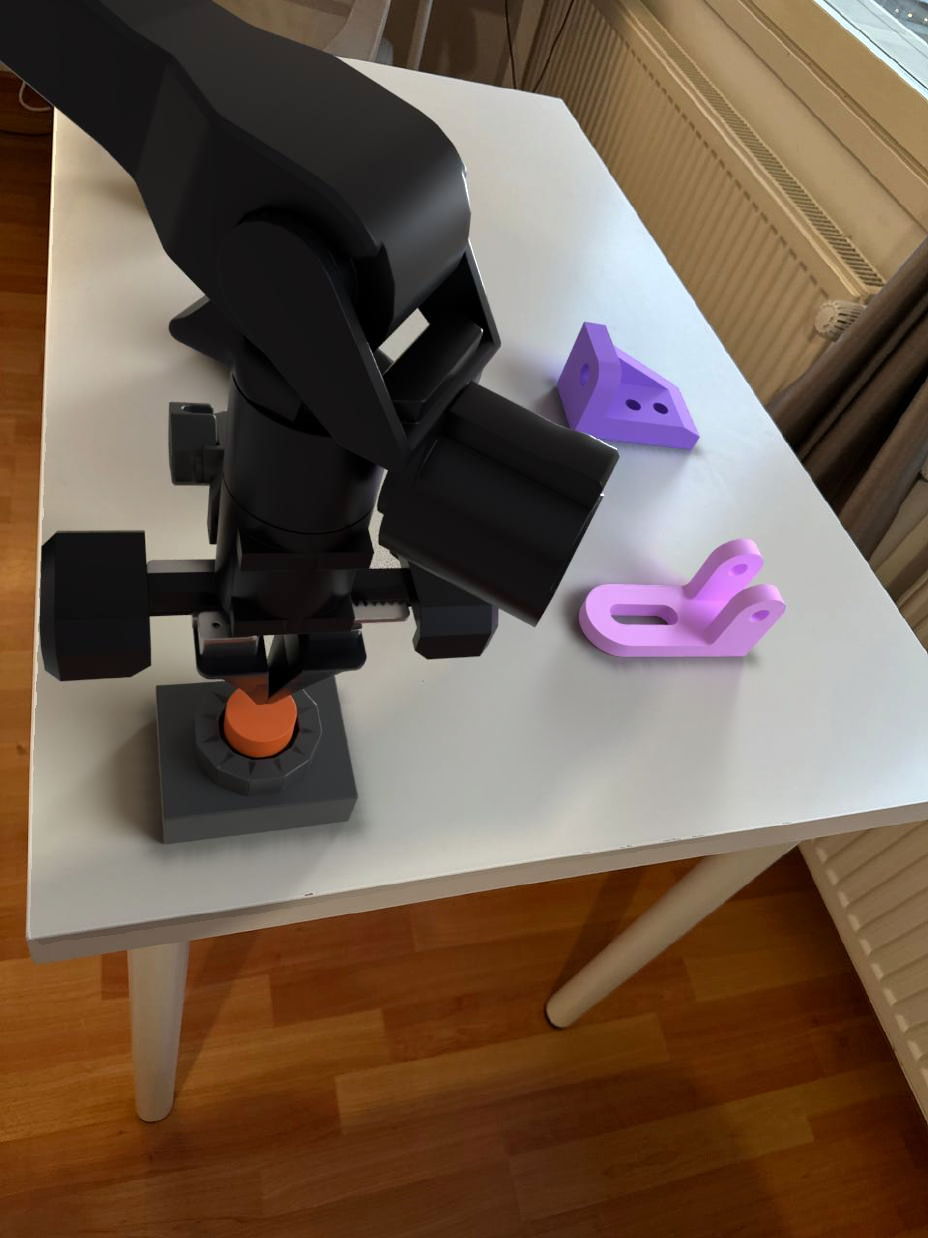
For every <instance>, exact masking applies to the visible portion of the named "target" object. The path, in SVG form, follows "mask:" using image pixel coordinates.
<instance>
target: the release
mask: <svg viewBox="0 0 928 1238" xmlns="http://www.w3.org/2000/svg"><path fill="white" fill-rule="evenodd" d="M237 689H238V688H237V687H236V686H234V685H232V684H230V683H228V682H226V681H225V680H218V681H217V680H216V681H205V682H204V681H203V682H200V681H199V682H185V683H173V684H172V683H171V684H157V685H156V686H155V725H156V738H157V739H156V740H157V756H158V757H157V758H158V772H159V789H160V791H159V792H160V805H161V823H162V825H161V826H162V840H163V844H164V845H169V844H170V845H171V844H178V843H184V842H193V841H203V840H210V839H216V838H217V839H218V838H224V837H233V836H240V835H248V834H256V833H265V832H273V831H280V830H287V829H288V830H289V829H295V828H296V829H297V828H304V827H311V826H320V825H329V824H337V823H343V822H349V821H350V819H351V816H352V813H353V811H354V809H355V807H356V804H357V801H358V798H359V793H358V788H357V783H356V778H355V772H354V768H353V761H352V756H351V752H350V751H351V750H350V747H349V742H348V741H349V740H348V736H347V732H346V726H345V721H344V720H345V719H344V716H343V711H342V706H341V705H342V704H341V699H340V695H339V690H338V684H337V680H336V675H335V676H332V677H330V678H327V679H325V680H322V681H320V682H317V683H315V684H312V685H310V686H308V687H306V688H304V689H301V690H299V691H297V692H295V693H293V694H291V695H290V696H291V697H292V699H293V700H294V703H295V705H296V711H297V715H296V720H295V725H294V729H293V733H292V737H291V739H290V741H289V743H288V744H287V745H286V746H285V747H284V748H283V749H282V750H281V751H279V752H278V753H276V754H274V755H271V756H267V757H251V756H247V755H244V754H242V753H240V752H238V751H237V750H235V749H234V748H233V747H232V746H231V745H230V743H229V742H228V740H227V739H226V736H225V733H224V720H225V712H226V705H227V702H228V700H229V698H230V696H231V695H232V694H233V693H234V692H235V691H236V690H237Z"/></svg>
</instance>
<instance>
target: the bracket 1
mask: <svg viewBox="0 0 928 1238" xmlns="http://www.w3.org/2000/svg"><path fill="white" fill-rule="evenodd" d="M556 388H557V392H558V394H559V398H560V401H561V404H562V407H563V411H564V413H565V417H566V420H567V423H568V426H569V429H573V430H576V431H580V432H583V433H586V434H588V435H590V436H592V437H594V438H596V439H598V440H607V441H615V442H623V443H631V444H642V445H648V446H649V445H650V446H657V447H658V446H659V447H666V448H667V447H668V448H675V449H685V450H694V447H695V446H696V444H697V442H698V441H699V439H700V438H701V436H700V433H699V431H698V429H697V426H696V424H695V422H694V420H693V417H692V415H691V413H690V411H689V408H688V406H687V403H686V400H685V399H684V397H683V395H682V392H681V389H680V387H679V386H678V385H676V384H674V383H673V382H672V381H670V380H668V379H666V378H665V377H663V376H662V375H660V374H659V373H657V372H656V371H654V370H653V369H652V368H650V367H648V366H647V365H645V364H643V363H642V362H640V361H639V360H637V359H636V358H635V357H633V356H631V355H630V354H628V353H627V352H625V351H623V350H622V349H621V348H619V347H618V346H616V345H614V343H613V340H612V338H611V335H610V333H609V330H608V328H607V325H606V324H601V323H597V322H589V321H583V323H582V325H581V327H580V329H579V332H578V334H577V337H576V339H575V341H574V343H573V346H572V348H571V350H570V352H569V355H568V357H567V359H566V362H565V364H564V366H563V369H562V370H561V374H560V376H559V378H558V379H557V382H556Z"/></svg>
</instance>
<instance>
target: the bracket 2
mask: <svg viewBox="0 0 928 1238" xmlns="http://www.w3.org/2000/svg"><path fill="white" fill-rule="evenodd" d="M708 555H709V556H708V557H707V558H706V560H705V561H704V562H703V564H702V565H701V566H700V567H699V569H698V570H697V572H696V573H695V574H694V576H693V577H692V578H691V579H690V581H689V582H688V583H686V584H684V585H666V584H665V585H662V584H625V583H624V584H623V583H621V584H620V583H606V584H601V585H598V586H596V587H594V588H593V589H592V590H591V591H590V592H589V593H588V594H587V596H586V598H585V599H584V601H583V603H581V607H580V608H579V611H578V622H579V626H580V629H581V631H582V632H583V634H584V636H585V637H586V639H587V640H588V641H589V642H590V643H591V644H592V645H594V646H595V647H596V648H597V649H599V650H601V651H602V652H604V653H606V654H609V655H611V656H616V657H621V658H660V657H661V658H666V657H667V658H668V657H669V658H672V657H673V658H674V657H675V658H677V657H679V658H680V657H682V658H683V657H684V658H685V657H686V658H689V657H692V658H693V657H700V658H701V657H703V658H704V657H705V658H706V657H746V656H747V655H748V654H749V653H750V652H751V650H752V649H753V648H754V647H755V646H756V645H757V644H758V643H759V641H761V639H763V637H764V636H765V635H766V634H767V633H768V632H769V631H770V630H771V628H773V627H774V625H775V624H776V623H777V622H778V621H779V620H780V618H782V616H783V615H784V614H785V612H786V604H785V602H784V600H783V597H782V596H781V593H780V591H779V590H778V588H777V587H776V586H775V585H773V584H769V583H762V584H756V585H752V586H749V584H750V583H751V582H752V580H753V579H754V578H755V577H756V576H757V575H758V573H759V572H760V571H761V570H762V568H763V566H764V559H763V557H762V555H761V552H760V550H759V549H758V546H757V544H756V542H755V541H753V540H751V539H749V538H737V539H733V540H729V541H726V542H725V543H723V544H721V545H719V546H718V547H716V548H715V549H714V550H713V551H711V553H710V554H708ZM613 616H626V617H627V616H631V617H633V616H635V617H636V616H638V617H659V618H661V619H663V620H664V621H665V622H666V623H667V624H623V623H621V622H618V621H617V620H616V619H614V618H613Z"/></svg>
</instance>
